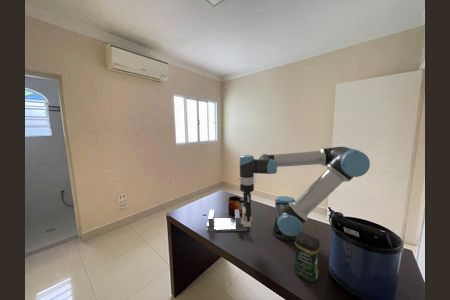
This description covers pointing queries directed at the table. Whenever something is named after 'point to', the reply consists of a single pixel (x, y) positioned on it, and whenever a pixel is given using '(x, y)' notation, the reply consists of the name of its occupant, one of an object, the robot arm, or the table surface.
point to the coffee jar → (307, 256)
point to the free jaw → (238, 219)
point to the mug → (234, 205)
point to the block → (245, 216)
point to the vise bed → (222, 224)
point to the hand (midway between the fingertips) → (247, 222)
